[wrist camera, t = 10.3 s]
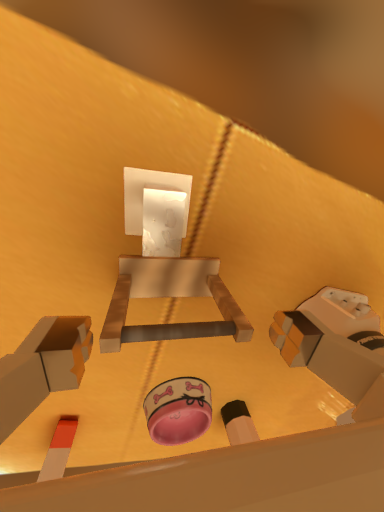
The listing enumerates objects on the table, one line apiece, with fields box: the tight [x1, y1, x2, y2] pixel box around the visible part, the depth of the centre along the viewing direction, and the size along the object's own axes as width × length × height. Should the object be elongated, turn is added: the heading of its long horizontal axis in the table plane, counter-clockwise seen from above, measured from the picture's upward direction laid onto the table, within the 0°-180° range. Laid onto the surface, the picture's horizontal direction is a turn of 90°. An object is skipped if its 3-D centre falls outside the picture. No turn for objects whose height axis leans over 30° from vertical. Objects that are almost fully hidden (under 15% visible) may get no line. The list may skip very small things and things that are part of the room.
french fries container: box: [37, 420, 78, 482], centre depth 39 cm, size 5×11×18 cm, turn 155°
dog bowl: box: [143, 377, 212, 446], centre depth 49 cm, size 18×19×7 cm
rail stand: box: [99, 255, 254, 353], centre depth 29 cm, size 18×8×16 cm, turn 83°
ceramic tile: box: [124, 167, 192, 238], centre depth 30 cm, size 10×10×1 cm
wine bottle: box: [221, 400, 260, 446], centre depth 46 cm, size 8×8×30 cm
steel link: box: [142, 182, 186, 257], centre depth 24 cm, size 4×7×12 cm, turn 173°
